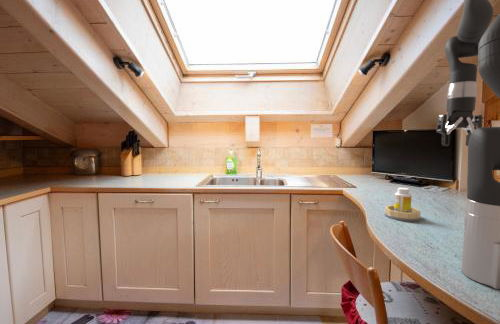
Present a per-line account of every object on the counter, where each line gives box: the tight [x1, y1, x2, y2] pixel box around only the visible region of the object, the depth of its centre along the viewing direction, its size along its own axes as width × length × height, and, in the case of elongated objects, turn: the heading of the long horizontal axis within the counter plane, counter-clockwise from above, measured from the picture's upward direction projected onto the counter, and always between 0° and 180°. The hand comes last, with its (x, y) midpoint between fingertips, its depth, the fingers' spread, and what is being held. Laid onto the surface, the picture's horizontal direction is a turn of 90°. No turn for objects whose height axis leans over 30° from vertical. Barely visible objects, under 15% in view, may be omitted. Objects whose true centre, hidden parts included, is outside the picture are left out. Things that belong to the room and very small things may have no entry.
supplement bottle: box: [393, 187, 412, 213], centre depth 102 cm, size 6×6×10 cm
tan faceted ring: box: [384, 204, 421, 223], centre depth 103 cm, size 12×12×3 cm
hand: (457, 145), depth 89 cm, fingers open, 8 cm apart
